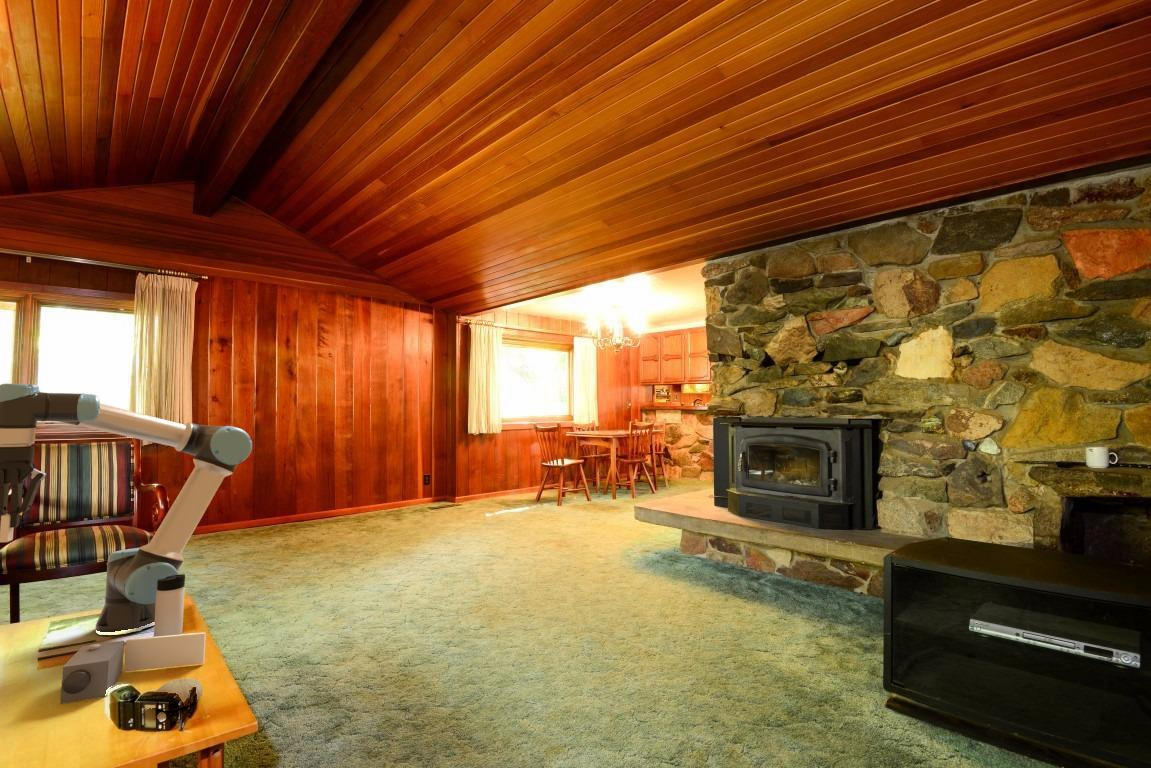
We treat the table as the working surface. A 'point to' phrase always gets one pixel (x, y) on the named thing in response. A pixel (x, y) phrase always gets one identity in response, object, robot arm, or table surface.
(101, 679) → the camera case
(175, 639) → the side door
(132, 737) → the table surface
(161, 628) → the travel mug
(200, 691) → the sea urchin shell
